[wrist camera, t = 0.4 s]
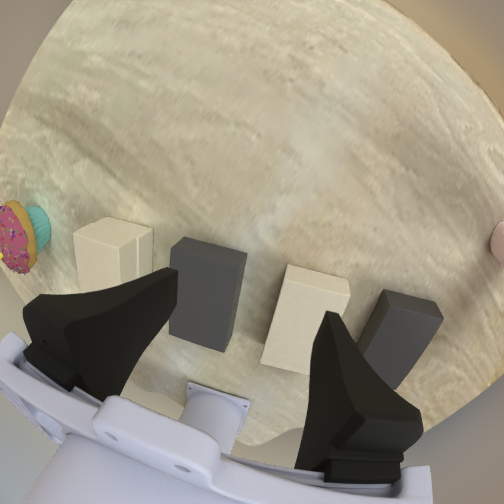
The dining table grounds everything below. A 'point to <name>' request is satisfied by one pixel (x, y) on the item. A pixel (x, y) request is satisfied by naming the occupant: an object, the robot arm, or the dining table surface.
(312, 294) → the cream book
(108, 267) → the cream stack
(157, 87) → the dining table surface
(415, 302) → the grey book
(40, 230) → the cupcake
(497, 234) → the smoothie
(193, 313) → the grey book
